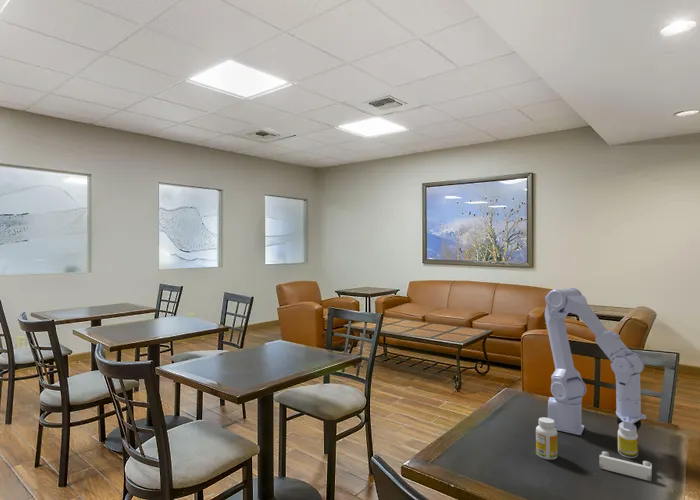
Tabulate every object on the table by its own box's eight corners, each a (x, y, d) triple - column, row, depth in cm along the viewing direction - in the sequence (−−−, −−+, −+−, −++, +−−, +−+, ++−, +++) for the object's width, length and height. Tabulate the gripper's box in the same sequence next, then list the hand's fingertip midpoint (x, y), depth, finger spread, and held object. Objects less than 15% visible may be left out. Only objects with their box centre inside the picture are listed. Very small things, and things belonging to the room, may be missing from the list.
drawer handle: (599, 468, 110) (599, 456, 110) (602, 455, 117) (602, 444, 117) (651, 481, 104) (651, 469, 104) (651, 467, 110) (651, 456, 110)
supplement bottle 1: (556, 452, 119) (556, 417, 119) (558, 461, 114) (558, 425, 114) (535, 449, 120) (535, 415, 120) (536, 458, 115) (536, 422, 115)
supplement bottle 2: (641, 459, 115) (641, 432, 113) (621, 458, 116) (621, 432, 114) (633, 446, 119) (633, 420, 117) (615, 446, 121) (614, 420, 119)
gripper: (645, 408, 111) (646, 460, 111) (645, 392, 123) (646, 439, 123) (613, 403, 115) (615, 453, 115) (616, 388, 127) (617, 434, 127)
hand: (629, 445), depth 119 cm, fingers closed, pressing on supplement bottle 2
